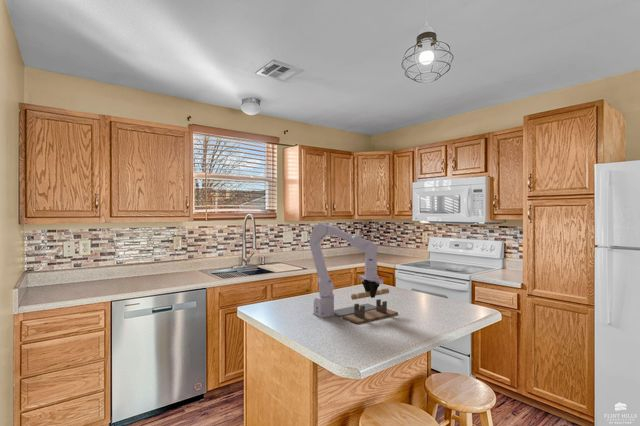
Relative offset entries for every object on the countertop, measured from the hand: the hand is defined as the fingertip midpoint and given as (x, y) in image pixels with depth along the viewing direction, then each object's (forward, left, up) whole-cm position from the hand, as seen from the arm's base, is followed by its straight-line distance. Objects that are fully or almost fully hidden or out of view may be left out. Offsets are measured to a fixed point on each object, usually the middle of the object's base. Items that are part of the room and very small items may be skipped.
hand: (370, 296), depth 161 cm
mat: (0, +12, -9) cm, 15 cm away
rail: (0, 0, 0) cm, 0 cm away
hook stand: (0, 0, -9) cm, 9 cm away
